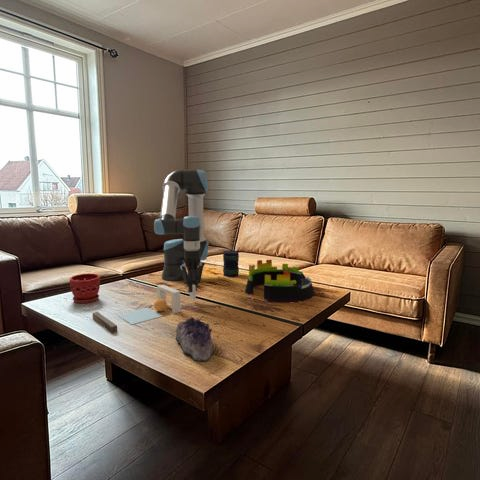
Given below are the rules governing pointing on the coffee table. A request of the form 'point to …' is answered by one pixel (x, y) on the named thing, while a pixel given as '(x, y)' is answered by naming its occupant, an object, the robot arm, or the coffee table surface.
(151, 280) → the coffee table surface
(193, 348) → the geode
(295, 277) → the curved castle wall
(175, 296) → the bridge
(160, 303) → the ball
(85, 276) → the plant pot
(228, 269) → the storage jar
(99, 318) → the wall
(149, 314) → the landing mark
